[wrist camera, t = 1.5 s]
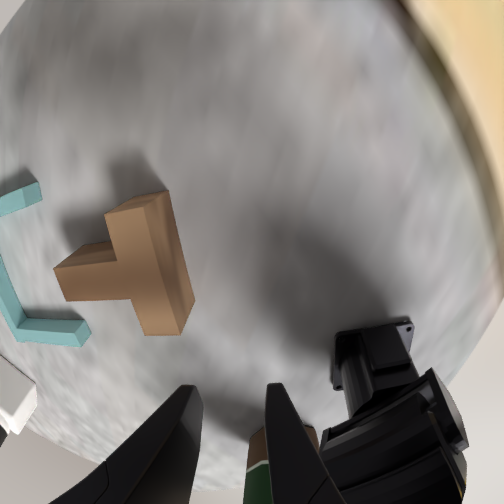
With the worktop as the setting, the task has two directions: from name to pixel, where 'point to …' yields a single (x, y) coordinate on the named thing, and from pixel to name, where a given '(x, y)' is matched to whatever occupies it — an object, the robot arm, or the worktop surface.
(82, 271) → the t block
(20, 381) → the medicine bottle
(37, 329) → the jig
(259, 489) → the beer bottle
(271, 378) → the worktop surface
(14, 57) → the worktop surface
